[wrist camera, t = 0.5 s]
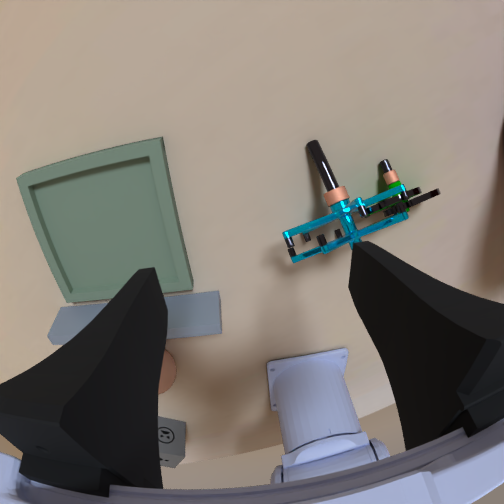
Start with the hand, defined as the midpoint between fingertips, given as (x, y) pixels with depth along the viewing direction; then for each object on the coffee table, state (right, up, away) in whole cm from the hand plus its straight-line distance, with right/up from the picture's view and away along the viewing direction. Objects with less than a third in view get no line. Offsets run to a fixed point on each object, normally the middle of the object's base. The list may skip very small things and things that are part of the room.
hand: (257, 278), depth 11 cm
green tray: (-10, +3, +9) cm, 14 cm away
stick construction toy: (+6, +6, +9) cm, 13 cm away
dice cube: (-12, -21, +23) cm, 34 cm away
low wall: (-10, -3, +12) cm, 16 cm away
